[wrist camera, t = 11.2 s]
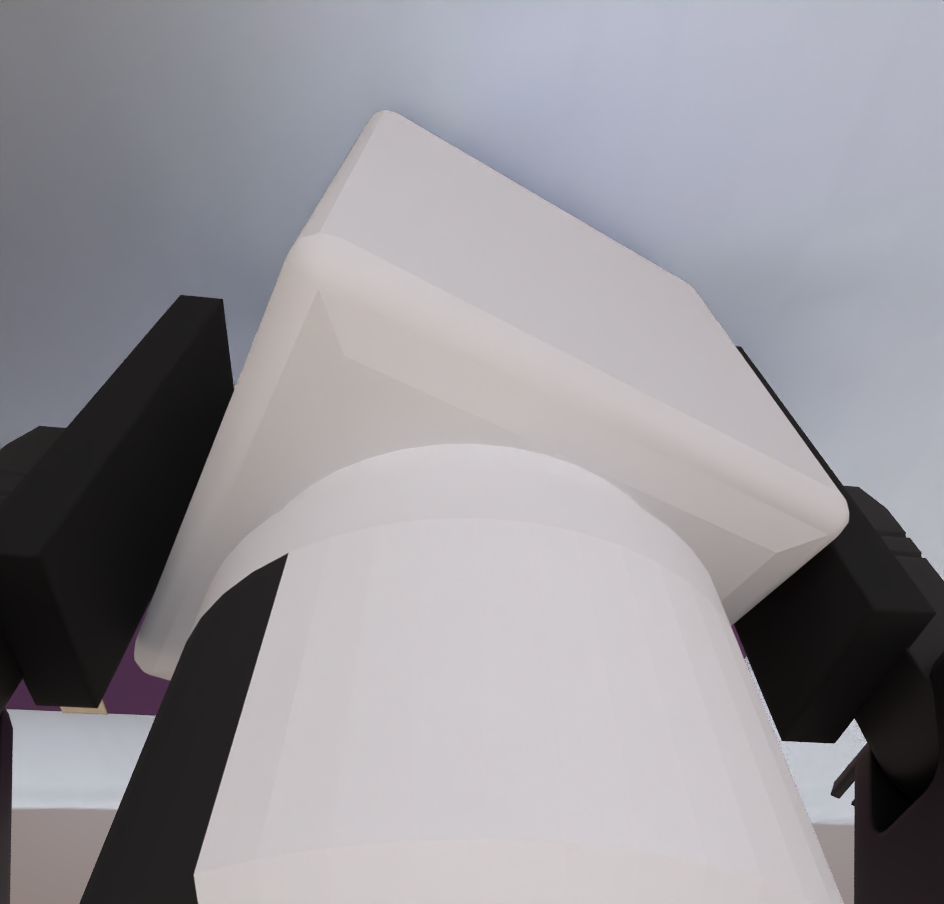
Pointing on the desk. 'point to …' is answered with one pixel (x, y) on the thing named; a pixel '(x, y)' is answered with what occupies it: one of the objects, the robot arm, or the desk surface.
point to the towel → (131, 688)
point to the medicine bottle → (474, 578)
